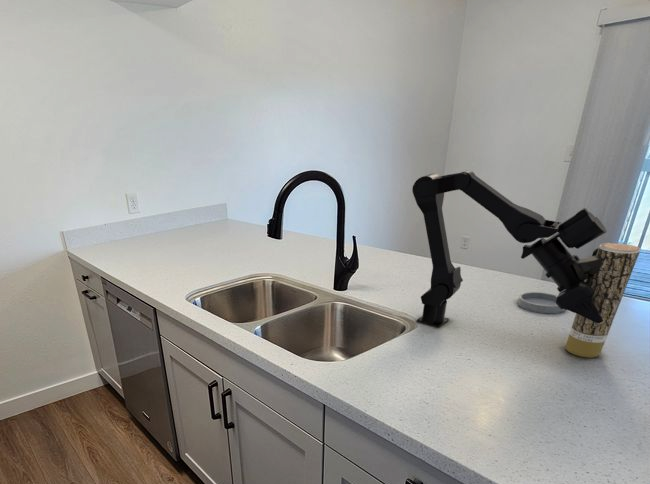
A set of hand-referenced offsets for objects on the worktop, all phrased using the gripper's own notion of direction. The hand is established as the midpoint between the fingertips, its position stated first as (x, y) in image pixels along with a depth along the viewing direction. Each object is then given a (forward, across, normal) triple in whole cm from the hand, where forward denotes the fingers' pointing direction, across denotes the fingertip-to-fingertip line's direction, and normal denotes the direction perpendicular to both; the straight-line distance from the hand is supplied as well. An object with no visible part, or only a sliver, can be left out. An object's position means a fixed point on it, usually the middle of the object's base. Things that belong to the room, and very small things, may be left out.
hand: (602, 315), depth 97 cm
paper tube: (+6, 0, +8) cm, 10 cm away
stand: (-3, +27, +16) cm, 32 cm away
